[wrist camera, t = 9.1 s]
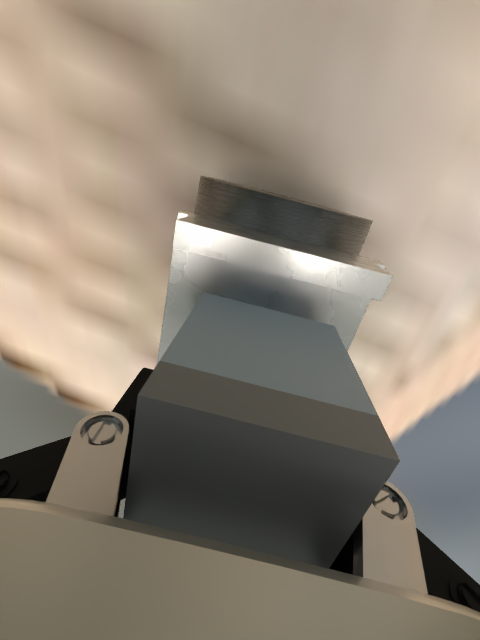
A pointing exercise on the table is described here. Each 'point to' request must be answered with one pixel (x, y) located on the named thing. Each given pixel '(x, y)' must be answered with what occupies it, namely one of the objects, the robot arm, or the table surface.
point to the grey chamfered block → (257, 435)
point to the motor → (271, 259)
